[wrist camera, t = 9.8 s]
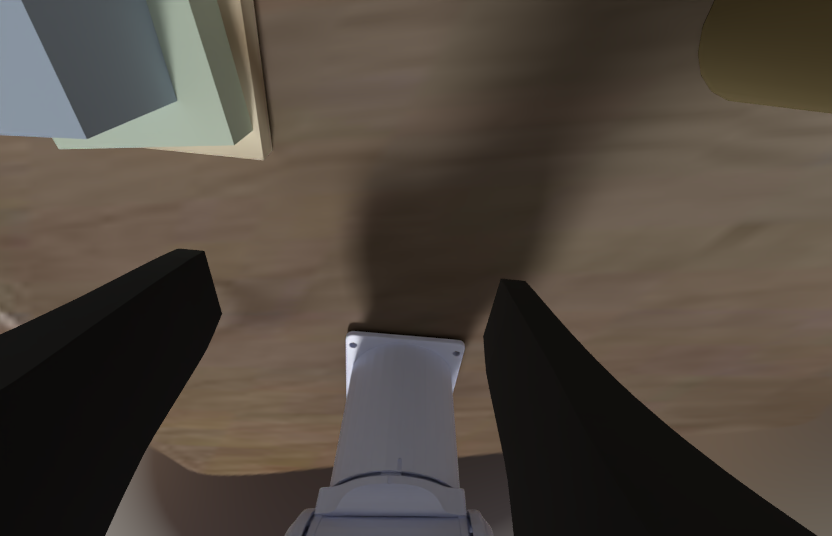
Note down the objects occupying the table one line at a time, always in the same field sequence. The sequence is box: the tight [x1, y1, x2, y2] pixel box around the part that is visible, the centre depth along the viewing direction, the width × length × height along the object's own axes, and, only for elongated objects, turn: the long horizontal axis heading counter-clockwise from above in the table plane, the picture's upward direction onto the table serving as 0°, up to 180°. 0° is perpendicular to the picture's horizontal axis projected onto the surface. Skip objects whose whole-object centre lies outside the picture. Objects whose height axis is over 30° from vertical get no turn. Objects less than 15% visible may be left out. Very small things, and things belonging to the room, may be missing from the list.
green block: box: [53, 0, 253, 149], centre depth 13 cm, size 7×7×2 cm
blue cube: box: [0, 0, 177, 139], centre depth 10 cm, size 4×4×4 cm
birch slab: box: [139, 0, 273, 160], centre depth 15 cm, size 9×9×2 cm
